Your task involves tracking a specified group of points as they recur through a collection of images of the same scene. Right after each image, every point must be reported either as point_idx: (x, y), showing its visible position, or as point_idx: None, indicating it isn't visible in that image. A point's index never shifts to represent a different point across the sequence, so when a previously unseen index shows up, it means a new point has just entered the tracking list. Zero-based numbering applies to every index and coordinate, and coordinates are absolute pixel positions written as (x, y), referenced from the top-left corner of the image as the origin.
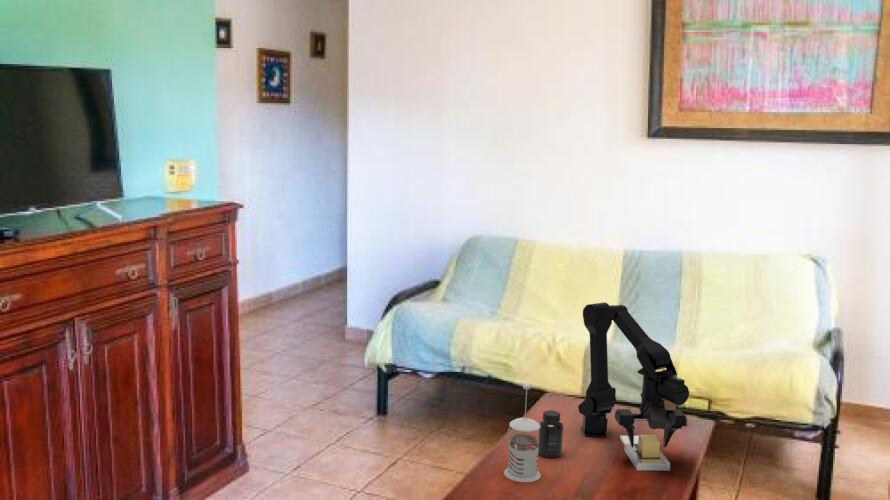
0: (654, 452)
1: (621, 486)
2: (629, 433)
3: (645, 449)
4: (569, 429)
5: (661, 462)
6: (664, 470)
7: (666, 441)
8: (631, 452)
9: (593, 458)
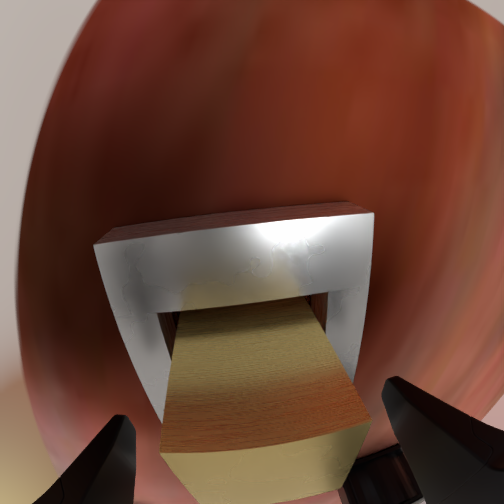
0: (215, 357)
1: (443, 23)
2: (500, 432)
3: (313, 362)
4: None
5: (161, 257)
6: (148, 222)
7: (102, 454)
8: (349, 373)
9: (472, 309)
